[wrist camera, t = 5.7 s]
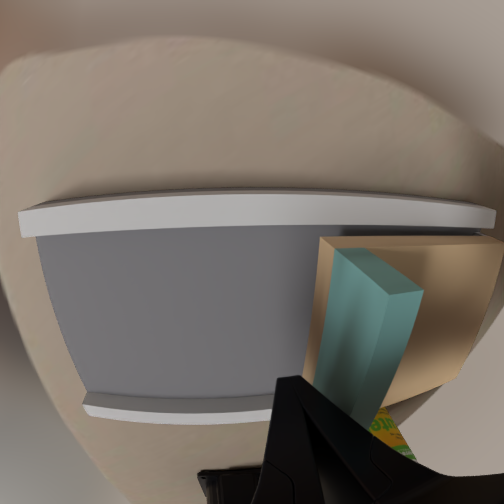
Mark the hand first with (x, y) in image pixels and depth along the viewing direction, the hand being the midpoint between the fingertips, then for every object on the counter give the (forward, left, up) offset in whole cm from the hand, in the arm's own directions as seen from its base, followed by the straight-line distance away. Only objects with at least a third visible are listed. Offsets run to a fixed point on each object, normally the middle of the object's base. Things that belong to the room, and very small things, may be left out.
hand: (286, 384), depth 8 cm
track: (0, -1, -4) cm, 5 cm away
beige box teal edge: (0, -6, -3) cm, 7 cm away
